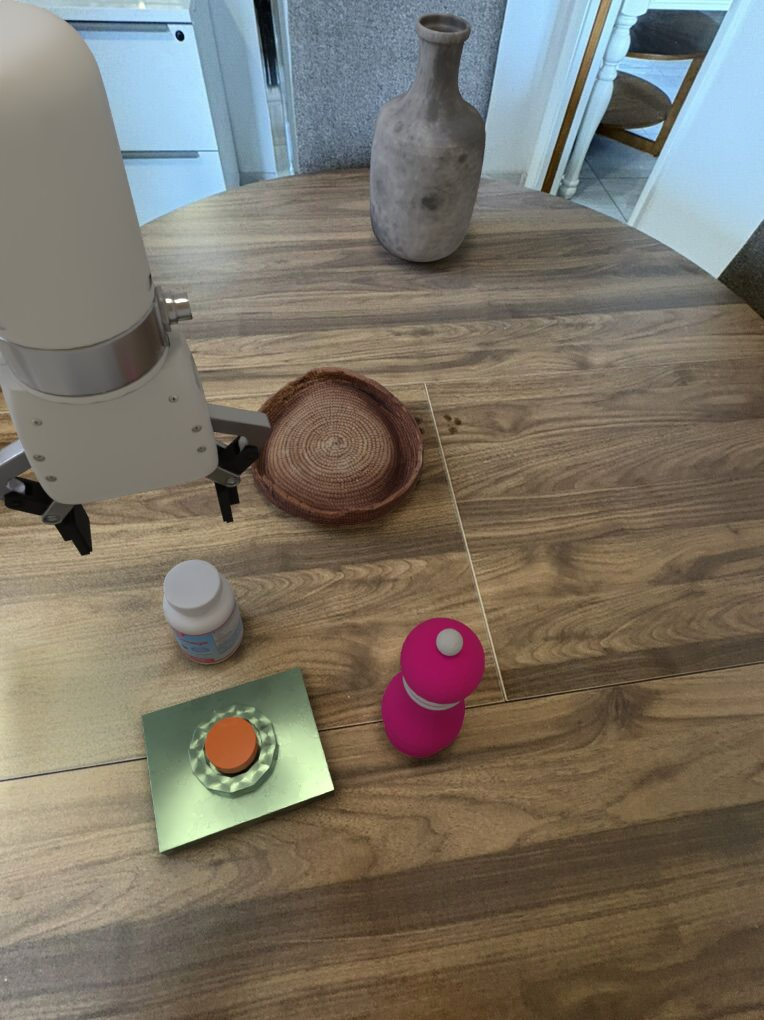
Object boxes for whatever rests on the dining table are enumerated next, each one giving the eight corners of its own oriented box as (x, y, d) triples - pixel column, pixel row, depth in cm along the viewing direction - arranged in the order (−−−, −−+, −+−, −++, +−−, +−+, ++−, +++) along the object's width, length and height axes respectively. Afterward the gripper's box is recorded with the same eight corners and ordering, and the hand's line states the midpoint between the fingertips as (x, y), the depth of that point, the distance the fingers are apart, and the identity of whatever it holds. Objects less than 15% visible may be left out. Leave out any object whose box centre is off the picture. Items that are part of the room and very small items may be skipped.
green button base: (167, 856, 49) (153, 850, 45) (148, 723, 55) (135, 708, 51) (334, 795, 53) (334, 785, 49) (301, 676, 58) (298, 659, 55)
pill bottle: (167, 642, 59) (136, 589, 50) (212, 596, 62) (191, 538, 53) (214, 679, 58) (191, 631, 48) (257, 630, 61) (244, 576, 51)
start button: (213, 780, 49) (210, 776, 47) (204, 731, 51) (200, 725, 49) (263, 763, 50) (261, 758, 48) (252, 716, 52) (249, 710, 50)
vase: (345, 243, 99) (350, 13, 74) (416, 210, 105) (441, -10, 81) (415, 292, 93) (445, 60, 68) (485, 254, 99) (535, 31, 75)
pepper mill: (366, 744, 55) (379, 665, 39) (394, 672, 59) (418, 572, 43) (442, 777, 54) (489, 709, 37) (466, 701, 58) (518, 610, 41)
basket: (240, 402, 78) (234, 373, 73) (392, 382, 81) (395, 353, 77) (266, 553, 66) (262, 528, 61) (444, 520, 69) (451, 495, 65)
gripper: (244, 262, 34) (265, 458, 48) (-114, 305, 30) (24, 507, 44) (276, 352, 30) (288, 536, 44) (-130, 416, 26) (27, 598, 40)
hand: (157, 522), depth 44 cm, fingers open, 9 cm apart
